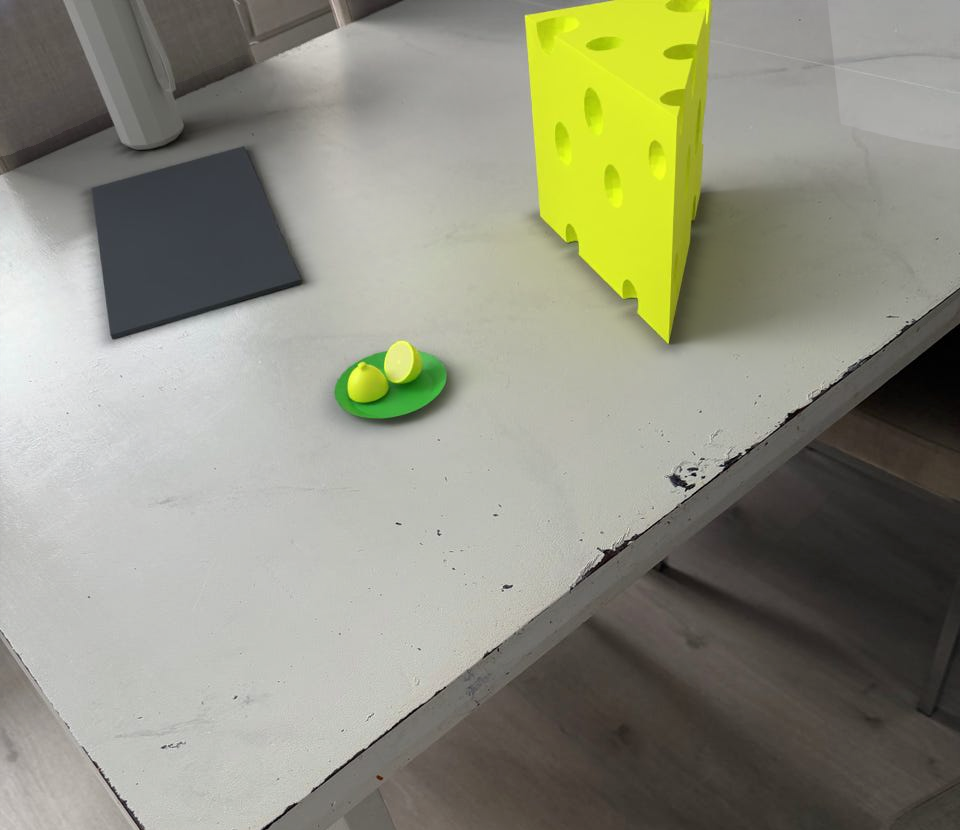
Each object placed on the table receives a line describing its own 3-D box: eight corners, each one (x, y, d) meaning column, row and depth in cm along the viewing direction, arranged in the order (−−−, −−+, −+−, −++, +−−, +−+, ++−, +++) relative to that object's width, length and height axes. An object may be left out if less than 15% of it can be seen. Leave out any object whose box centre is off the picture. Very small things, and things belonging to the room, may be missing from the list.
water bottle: (106, 152, 98) (-21, -146, 79) (150, 120, 102) (40, -170, 83) (172, 158, 95) (56, -152, 76) (215, 125, 99) (116, -176, 80)
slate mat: (93, 191, 92) (91, 187, 92) (245, 149, 94) (243, 145, 94) (112, 339, 73) (110, 334, 73) (302, 283, 75) (300, 279, 75)
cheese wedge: (804, 214, 72) (838, -5, 60) (668, 344, 63) (677, 117, 52) (601, 170, 81) (597, -28, 70) (459, 277, 72) (427, 72, 61)
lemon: (401, 344, 68) (393, 309, 65) (471, 384, 63) (465, 349, 61) (314, 395, 65) (303, 361, 63) (381, 441, 60) (372, 406, 58)
